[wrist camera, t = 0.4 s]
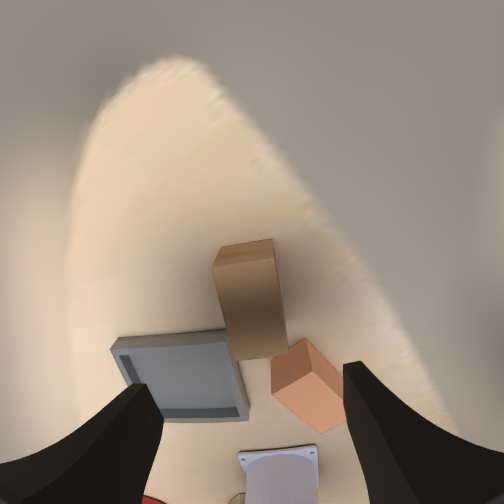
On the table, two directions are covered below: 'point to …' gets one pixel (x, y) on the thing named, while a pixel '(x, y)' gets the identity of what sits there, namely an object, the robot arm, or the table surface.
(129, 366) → the tray
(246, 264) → the walnut brick
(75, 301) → the table surface
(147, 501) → the beer can
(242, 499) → the box
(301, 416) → the terracotta brick
